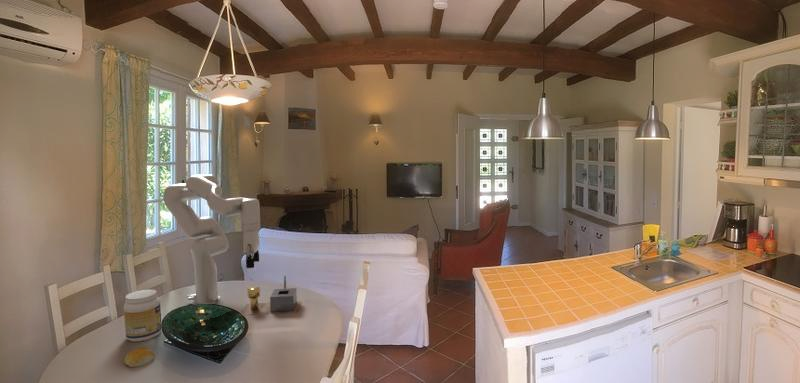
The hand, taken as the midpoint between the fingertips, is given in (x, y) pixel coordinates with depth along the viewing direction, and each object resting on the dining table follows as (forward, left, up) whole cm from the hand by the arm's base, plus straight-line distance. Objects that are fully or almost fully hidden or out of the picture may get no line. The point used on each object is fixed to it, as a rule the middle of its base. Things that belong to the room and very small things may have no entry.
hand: (252, 264), depth 176 cm
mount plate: (+7, 0, -22) cm, 23 cm away
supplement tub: (-38, -17, -22) cm, 48 cm away
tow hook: (+13, +15, -22) cm, 30 cm away
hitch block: (+13, 0, -21) cm, 24 cm away
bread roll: (-30, -38, -23) cm, 53 cm away
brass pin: (0, 0, -21) cm, 21 cm away
